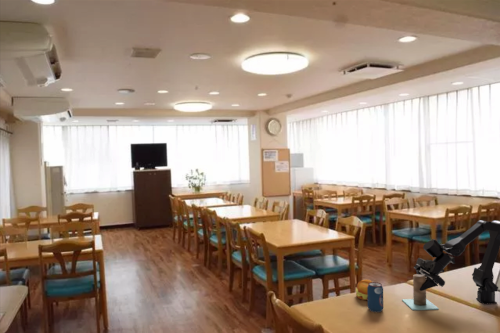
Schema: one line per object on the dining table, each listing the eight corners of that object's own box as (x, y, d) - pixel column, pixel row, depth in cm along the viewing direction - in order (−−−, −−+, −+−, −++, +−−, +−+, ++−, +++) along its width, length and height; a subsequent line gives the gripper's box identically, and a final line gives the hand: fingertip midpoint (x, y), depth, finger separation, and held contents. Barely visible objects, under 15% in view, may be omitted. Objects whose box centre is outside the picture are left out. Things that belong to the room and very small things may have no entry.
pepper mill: (426, 302, 187) (425, 274, 187) (426, 306, 182) (426, 278, 182) (413, 300, 189) (413, 273, 189) (413, 304, 184) (413, 277, 184)
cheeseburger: (374, 293, 202) (375, 276, 199) (378, 306, 192) (379, 288, 189) (353, 292, 203) (354, 275, 200) (357, 305, 193) (358, 287, 190)
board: (426, 299, 192) (426, 298, 192) (438, 309, 180) (438, 308, 180) (402, 300, 192) (402, 299, 192) (412, 310, 180) (412, 308, 180)
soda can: (384, 313, 177) (384, 286, 177) (368, 312, 178) (368, 286, 178) (382, 307, 184) (382, 281, 183) (366, 306, 185) (366, 281, 185)
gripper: (417, 247, 195) (396, 270, 194) (438, 257, 176) (414, 283, 175) (432, 262, 195) (411, 285, 195) (455, 274, 177) (432, 299, 176)
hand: (416, 288), depth 185 cm, fingers open, 6 cm apart
